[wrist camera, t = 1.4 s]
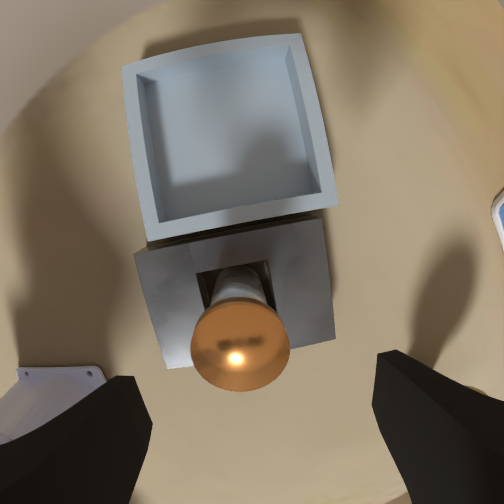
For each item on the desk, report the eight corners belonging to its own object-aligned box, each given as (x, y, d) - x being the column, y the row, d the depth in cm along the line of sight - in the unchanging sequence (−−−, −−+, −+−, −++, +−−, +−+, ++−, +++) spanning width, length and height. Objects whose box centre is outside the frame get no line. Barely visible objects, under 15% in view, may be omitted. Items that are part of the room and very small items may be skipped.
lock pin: (215, 319, 19) (204, 397, 11) (202, 264, 18) (179, 315, 10) (272, 309, 19) (295, 381, 11) (262, 253, 18) (282, 297, 10)
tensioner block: (174, 350, 19) (167, 368, 17) (145, 246, 18) (133, 254, 15) (324, 322, 19) (335, 338, 17) (310, 215, 18) (321, 218, 15)
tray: (159, 235, 18) (147, 241, 15) (134, 80, 16) (121, 66, 13) (325, 203, 18) (338, 205, 15) (292, 51, 16) (300, 33, 13)
